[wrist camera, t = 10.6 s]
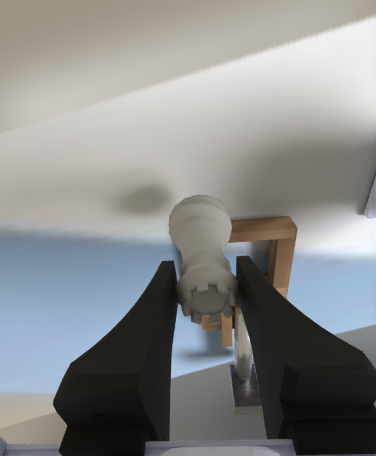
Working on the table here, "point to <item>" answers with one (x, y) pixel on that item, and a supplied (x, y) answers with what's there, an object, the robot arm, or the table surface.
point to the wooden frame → (278, 260)
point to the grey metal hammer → (244, 372)
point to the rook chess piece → (203, 259)
